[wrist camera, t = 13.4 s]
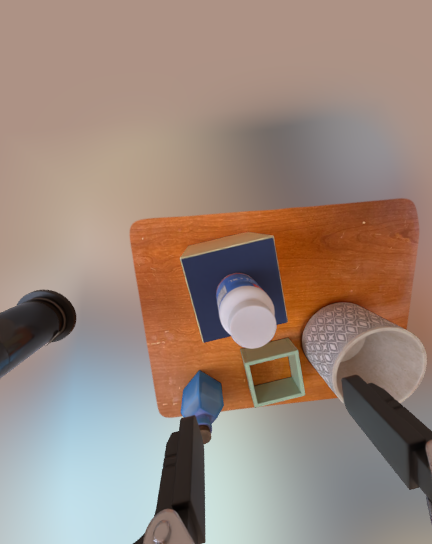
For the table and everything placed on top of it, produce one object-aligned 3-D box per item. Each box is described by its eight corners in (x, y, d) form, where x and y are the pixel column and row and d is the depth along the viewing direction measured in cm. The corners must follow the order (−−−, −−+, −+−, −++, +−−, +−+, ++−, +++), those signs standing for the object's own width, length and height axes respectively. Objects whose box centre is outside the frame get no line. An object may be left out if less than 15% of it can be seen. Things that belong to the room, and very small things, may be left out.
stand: (202, 301, 45) (202, 342, 29) (188, 245, 42) (179, 257, 26) (258, 288, 45) (288, 322, 29) (247, 231, 42) (273, 235, 26)
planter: (346, 285, 46) (400, 307, 33) (381, 338, 49) (442, 375, 37) (285, 330, 47) (314, 368, 35) (323, 378, 51) (362, 428, 38)
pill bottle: (262, 277, 27) (295, 306, 18) (250, 316, 28) (275, 362, 19) (221, 267, 26) (232, 290, 17) (210, 306, 27) (215, 350, 18)
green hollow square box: (249, 390, 50) (254, 407, 45) (240, 349, 47) (244, 363, 43) (295, 378, 50) (305, 395, 45) (288, 337, 48) (298, 350, 43)
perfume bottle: (221, 383, 49) (226, 432, 37) (205, 402, 50) (206, 456, 38) (199, 370, 48) (198, 416, 36) (183, 389, 49) (177, 441, 37)
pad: (203, 341, 29) (203, 342, 29) (181, 259, 26) (181, 259, 26) (286, 321, 29) (287, 322, 29) (272, 237, 26) (273, 237, 26)
